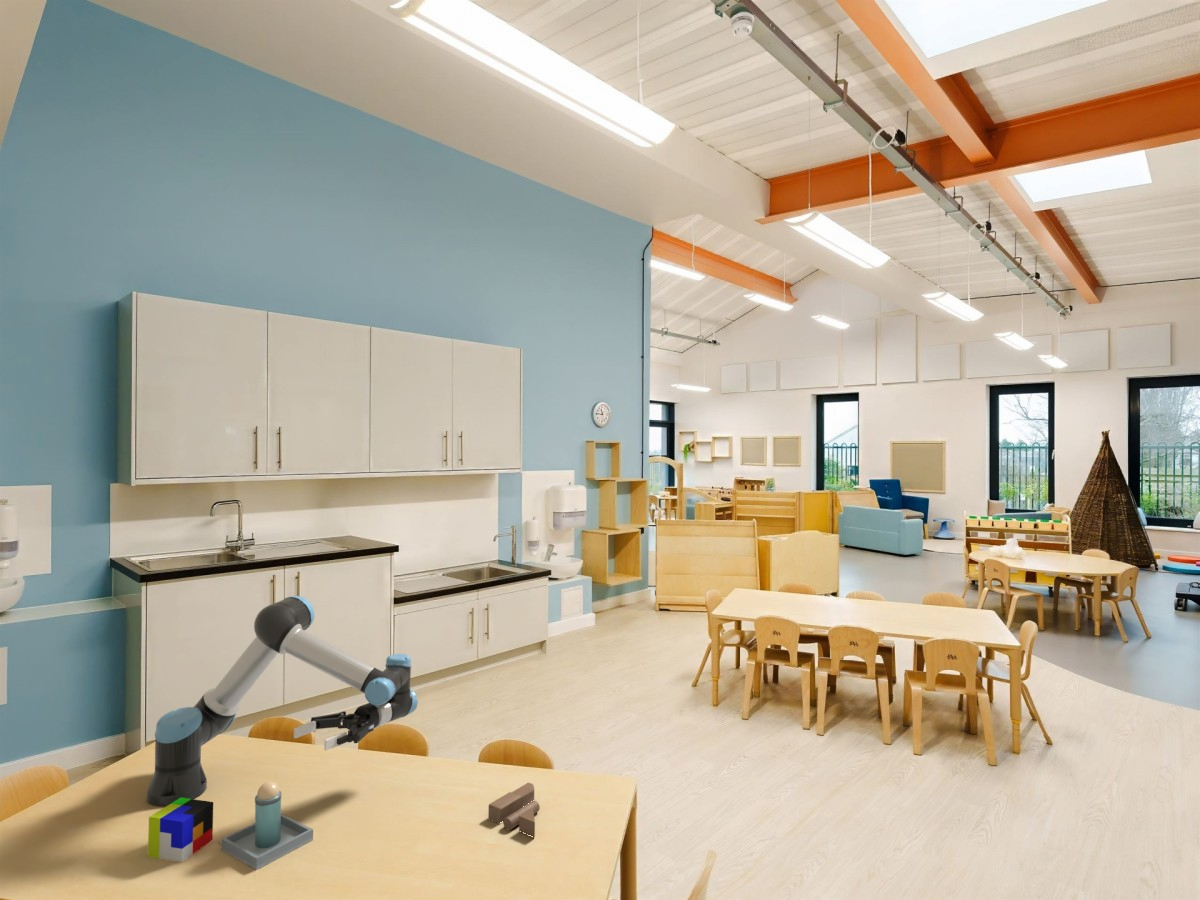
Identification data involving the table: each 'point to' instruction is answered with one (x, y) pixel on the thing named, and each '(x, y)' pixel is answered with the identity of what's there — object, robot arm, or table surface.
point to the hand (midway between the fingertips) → (309, 739)
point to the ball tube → (267, 815)
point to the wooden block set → (516, 809)
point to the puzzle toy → (180, 829)
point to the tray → (248, 853)
